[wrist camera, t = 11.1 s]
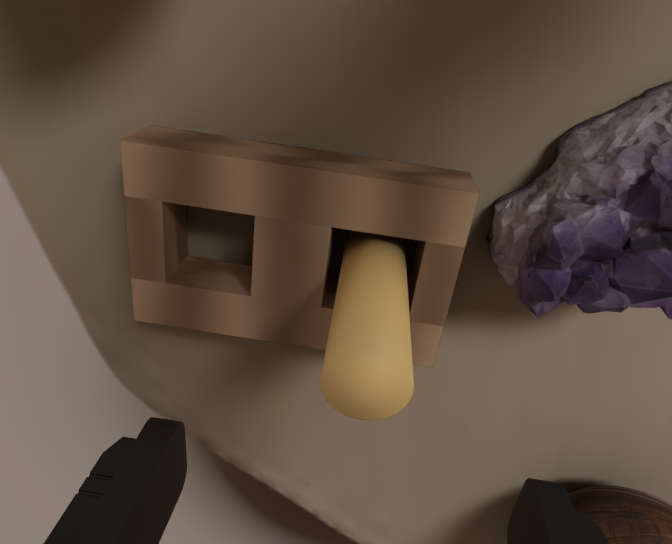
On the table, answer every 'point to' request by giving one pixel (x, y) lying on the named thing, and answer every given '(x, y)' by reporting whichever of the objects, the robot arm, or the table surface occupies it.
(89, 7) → the table surface
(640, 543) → the wooden sphere
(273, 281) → the hole block
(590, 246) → the geode
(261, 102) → the table surface
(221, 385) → the table surface
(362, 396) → the peg
